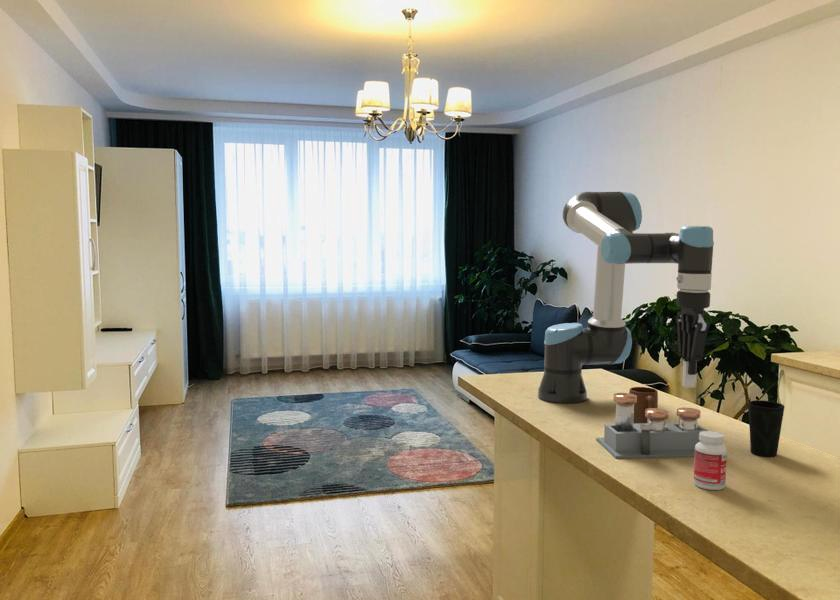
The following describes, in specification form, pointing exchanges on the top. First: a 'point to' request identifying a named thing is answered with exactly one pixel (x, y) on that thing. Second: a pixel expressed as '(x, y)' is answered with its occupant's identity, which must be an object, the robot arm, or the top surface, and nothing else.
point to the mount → (651, 441)
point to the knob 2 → (688, 418)
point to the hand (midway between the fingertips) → (688, 386)
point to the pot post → (645, 438)
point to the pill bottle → (710, 461)
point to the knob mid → (656, 418)
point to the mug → (643, 402)
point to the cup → (765, 427)
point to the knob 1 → (624, 411)
